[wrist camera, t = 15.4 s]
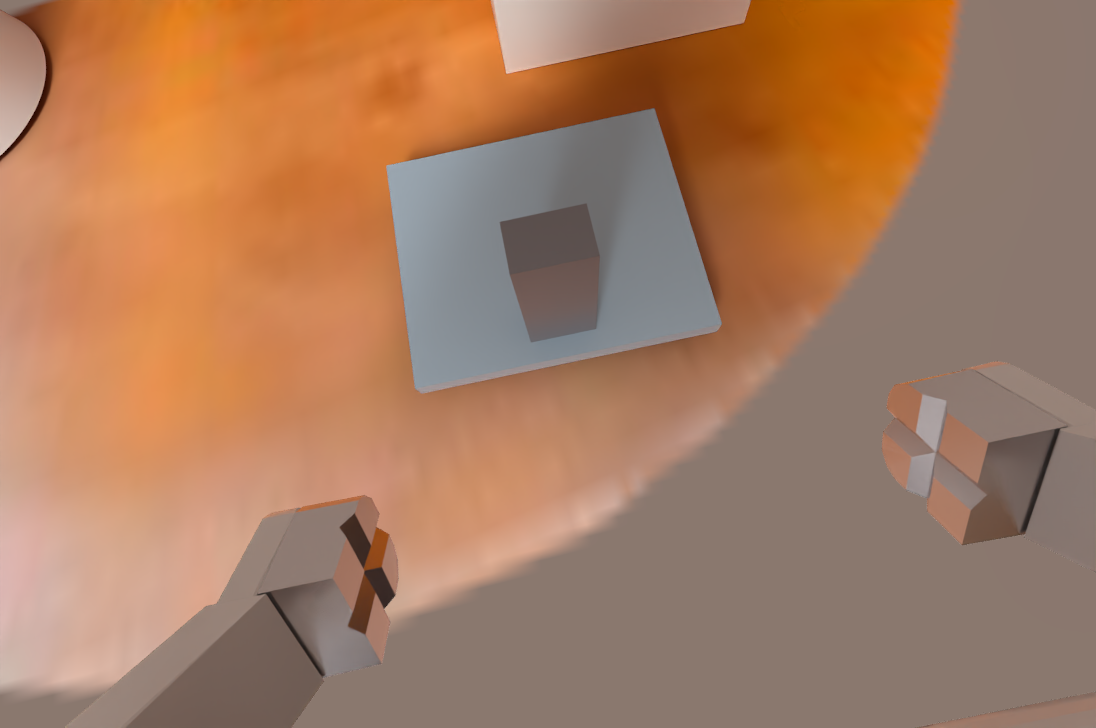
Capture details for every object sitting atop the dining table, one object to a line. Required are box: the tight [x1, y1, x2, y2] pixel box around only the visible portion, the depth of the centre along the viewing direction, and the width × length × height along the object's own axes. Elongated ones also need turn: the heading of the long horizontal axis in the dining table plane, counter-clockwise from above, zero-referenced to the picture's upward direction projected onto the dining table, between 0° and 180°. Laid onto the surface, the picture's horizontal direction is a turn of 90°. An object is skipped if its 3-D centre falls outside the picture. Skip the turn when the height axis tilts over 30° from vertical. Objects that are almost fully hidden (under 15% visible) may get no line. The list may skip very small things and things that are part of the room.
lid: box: [387, 108, 722, 393], centre depth 23 cm, size 14×12×9 cm
